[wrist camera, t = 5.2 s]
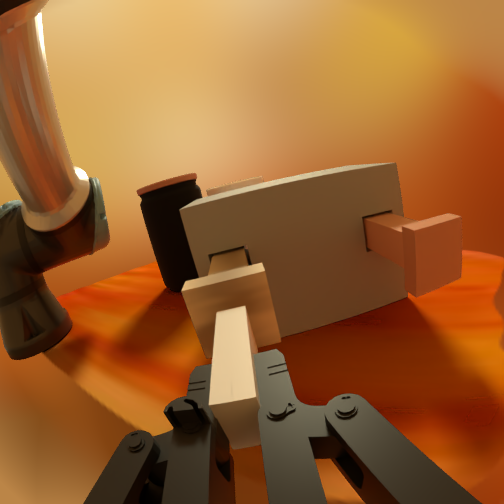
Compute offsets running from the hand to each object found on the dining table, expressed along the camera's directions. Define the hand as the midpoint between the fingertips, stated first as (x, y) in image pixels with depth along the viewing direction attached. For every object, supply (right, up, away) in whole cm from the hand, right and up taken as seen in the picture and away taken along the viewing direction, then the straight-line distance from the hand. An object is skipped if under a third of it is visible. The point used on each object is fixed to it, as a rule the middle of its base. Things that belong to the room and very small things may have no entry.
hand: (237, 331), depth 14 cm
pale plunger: (0, 0, +8) cm, 8 cm away
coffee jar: (-10, -1, +35) cm, 36 cm away
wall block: (+7, -2, +18) cm, 19 cm away
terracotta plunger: (+13, +3, +8) cm, 16 cm away
